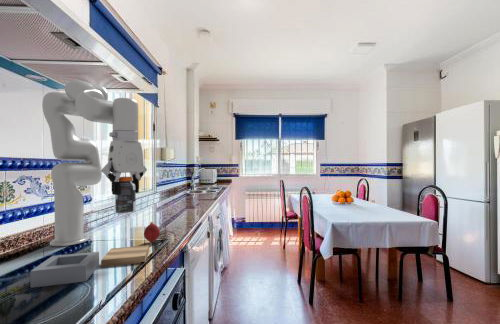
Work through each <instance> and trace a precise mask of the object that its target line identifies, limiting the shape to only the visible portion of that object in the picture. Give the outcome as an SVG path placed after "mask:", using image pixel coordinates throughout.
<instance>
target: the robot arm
mask: <svg viewBox="0 0 500 324" xmlns="http://www.w3.org/2000/svg"><path fill="white" fill-rule="evenodd" d="M108 99H109V93H108V91H107V89H106V88H105V87H104V86H103V85H100V84H97V83H92V82H88V81H86V80H85V81H84V80H82V79H81V80H80V79H72V80H70V81H68V82H67V83H66V84H65V86H64V92H60V91H50V92H47V93H45V94H44V96H43V98H42V103H41V105H42V106H41V107H42V112H43V116H44V118H45V121H46V123H47V125H48V128H49V131H50V132H49V133H50V140H51V148H52V152H53V156H54V158H55V159H57V160H60V161H69V162H60V163H58V164H55V165H54V166H53V167H52V169H51V172H50V176H51V180H52V181H51V182H52V187H53V193H54V194H53V196H54V201H53V203H54V239H52V240H50V241H49V246H51V247H68V246H74V245H78V244H82V243H85V242H87V241H88V240H89V237H88V236H87V235H84V196H83V194H82V191H80V189H78V187H85V186H94V185H97V184H99V183H100V182H101V181H102V177H103V175H102V173H103V174H104V176H105V177H106V178H107V179H108V180H109V182H110V183H111V195H114V196H115V195H120V182H119V178H120V177H121V175H122V174H123V173H126V174H127V173H128V174H129V173H130V177H132V183H134V184H135V193H136V194H138V193H139V192H140V181H141V180H142V178H143V177H144V174H145V173H146V172H147V171H148V169H147V168H146V166H145V165H144V152H143V148H142V143H141V141H139V103H138V101H137V100H135V99H133V98H129V97H118V98H115V99H114V100H113V101H112V100H108ZM65 115H67V116H75V117H82V118H83V119H85V120H87V121H89V122H94V123H102V124H109V125H112V131H111V132H109V134H108V135H109V137H110V138H112V140H111V141H110V144H109V148H108V157H107V163H106V164H105V165H104V166H103V168H102V166H101V159H100V154H99V148H98V146H97V143H96V142H95V141H94V140H92V139H89V138H82V137H81V138H80V137H78V136H77V134H76V128H75V126H74V124H73V123H72V122H71V120H70V119H69V118H68V117H67V116H65ZM70 161H75V162H70ZM79 161H81V162H79Z"/></svg>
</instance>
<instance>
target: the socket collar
mask: <svg viewBox="0 0 500 324" xmlns="http://www.w3.org/2000/svg"><path fill="white" fill-rule="evenodd" d="M99 266H100V251H92V252H90V251H89V252H81V253H71V254H59V255H52V256H50V257H49V258H48V259H46V260H44V261H43V262H41V263H40V264H38V265H37V266H36V267H34V268H33V269H31V270H30V274H29V275H30V279H29V280H30V283H29V284H30V286H29V287H30V288H40V287H48V286H50V287H51V286H58V285H65V284H73V283H83V282H87V281H88V280H89V278H90V277H91V276H92V274H94V272H95V271H96V270H97V268H98V267H99Z"/></svg>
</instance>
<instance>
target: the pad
mask: <svg viewBox="0 0 500 324" xmlns="http://www.w3.org/2000/svg"><path fill="white" fill-rule="evenodd" d="M149 253H150V244H148V245H147V244H146V245H136V246H126V247H125V246H123V247H113V248H110V249H109V250H108V251H107V253H106V254H105V255H104V256H103V257H102V258H101V259H100V263H101V264H100V267H101V268H105V267H106V266H107V267H114V266H115V267H116V266H124V265H125V264H126V265H133V264H135V265H136V264H142V263H141V262H145V263H146V262H147V259H146V258H148V256H149ZM147 255H148V256H147ZM123 264H124V265H123Z"/></svg>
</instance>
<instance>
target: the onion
mask: <svg viewBox="0 0 500 324" xmlns="http://www.w3.org/2000/svg"><path fill="white" fill-rule="evenodd" d="M143 232H144V233H143V237H144V239H145V240H147V241H148V242H149V243H151V244H152V243H153V244H154V243H155V241H156V240H158V238H159V237H160V235H161V230H160V228H159V226H158V225H156V224H155V223H154V222H153V221H150V223H149V225H147V226H146V227H145V229H144V231H143Z"/></svg>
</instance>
